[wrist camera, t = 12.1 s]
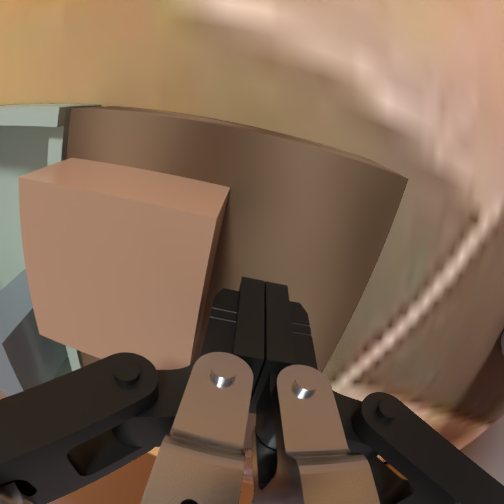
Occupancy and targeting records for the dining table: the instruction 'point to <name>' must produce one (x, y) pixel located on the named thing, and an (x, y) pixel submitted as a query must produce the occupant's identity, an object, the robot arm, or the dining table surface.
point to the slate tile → (24, 342)
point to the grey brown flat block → (263, 207)
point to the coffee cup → (502, 343)
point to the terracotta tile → (120, 257)
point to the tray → (21, 163)
